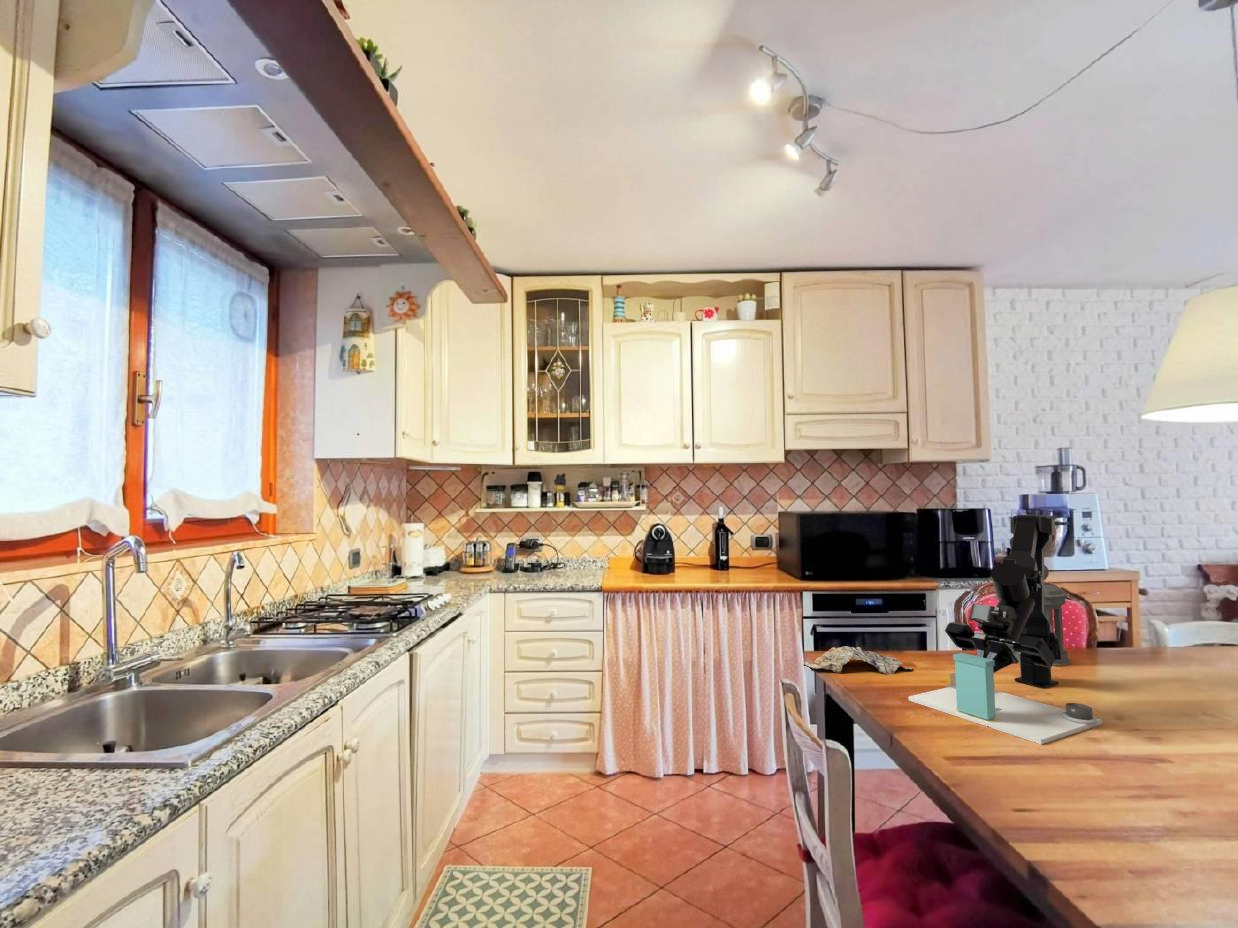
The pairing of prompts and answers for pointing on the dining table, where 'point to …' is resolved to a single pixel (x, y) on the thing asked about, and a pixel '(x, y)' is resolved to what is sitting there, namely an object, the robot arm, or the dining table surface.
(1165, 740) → the dining table surface
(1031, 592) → the robot arm
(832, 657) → the rock
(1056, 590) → the lantern
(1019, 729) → the console
